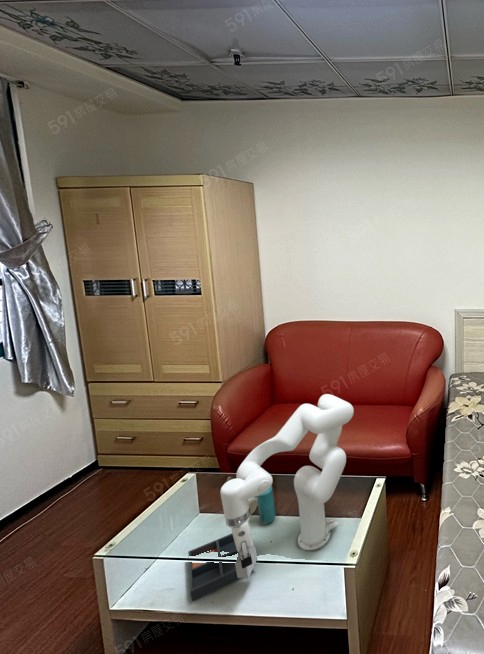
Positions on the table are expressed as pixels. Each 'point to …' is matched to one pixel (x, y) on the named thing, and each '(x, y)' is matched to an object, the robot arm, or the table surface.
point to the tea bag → (247, 570)
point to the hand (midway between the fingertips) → (245, 556)
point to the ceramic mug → (253, 504)
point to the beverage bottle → (266, 506)
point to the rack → (212, 568)
